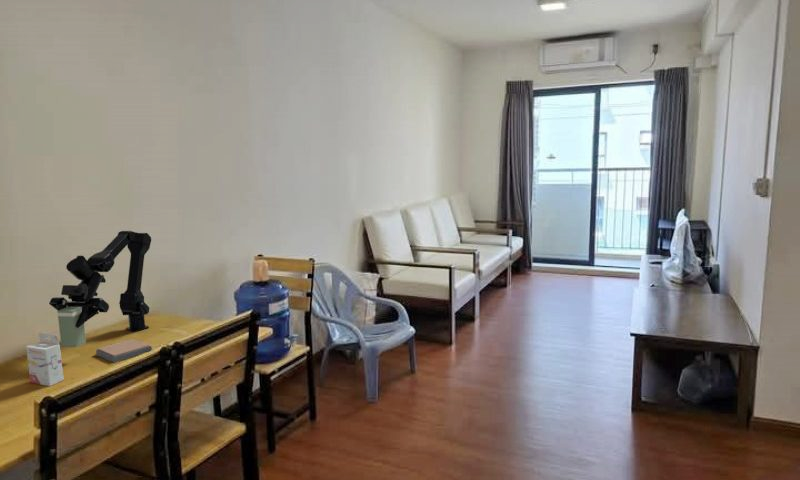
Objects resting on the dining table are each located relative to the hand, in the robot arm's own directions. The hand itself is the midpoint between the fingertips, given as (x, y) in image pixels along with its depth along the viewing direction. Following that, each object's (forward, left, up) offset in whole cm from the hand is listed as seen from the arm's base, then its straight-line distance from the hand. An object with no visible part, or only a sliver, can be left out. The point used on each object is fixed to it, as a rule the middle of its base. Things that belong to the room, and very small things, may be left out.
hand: (68, 327), depth 176 cm
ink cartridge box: (+11, -12, -12) cm, 21 cm away
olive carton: (-1, +1, -7) cm, 7 cm away
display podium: (+6, +14, -12) cm, 20 cm away
